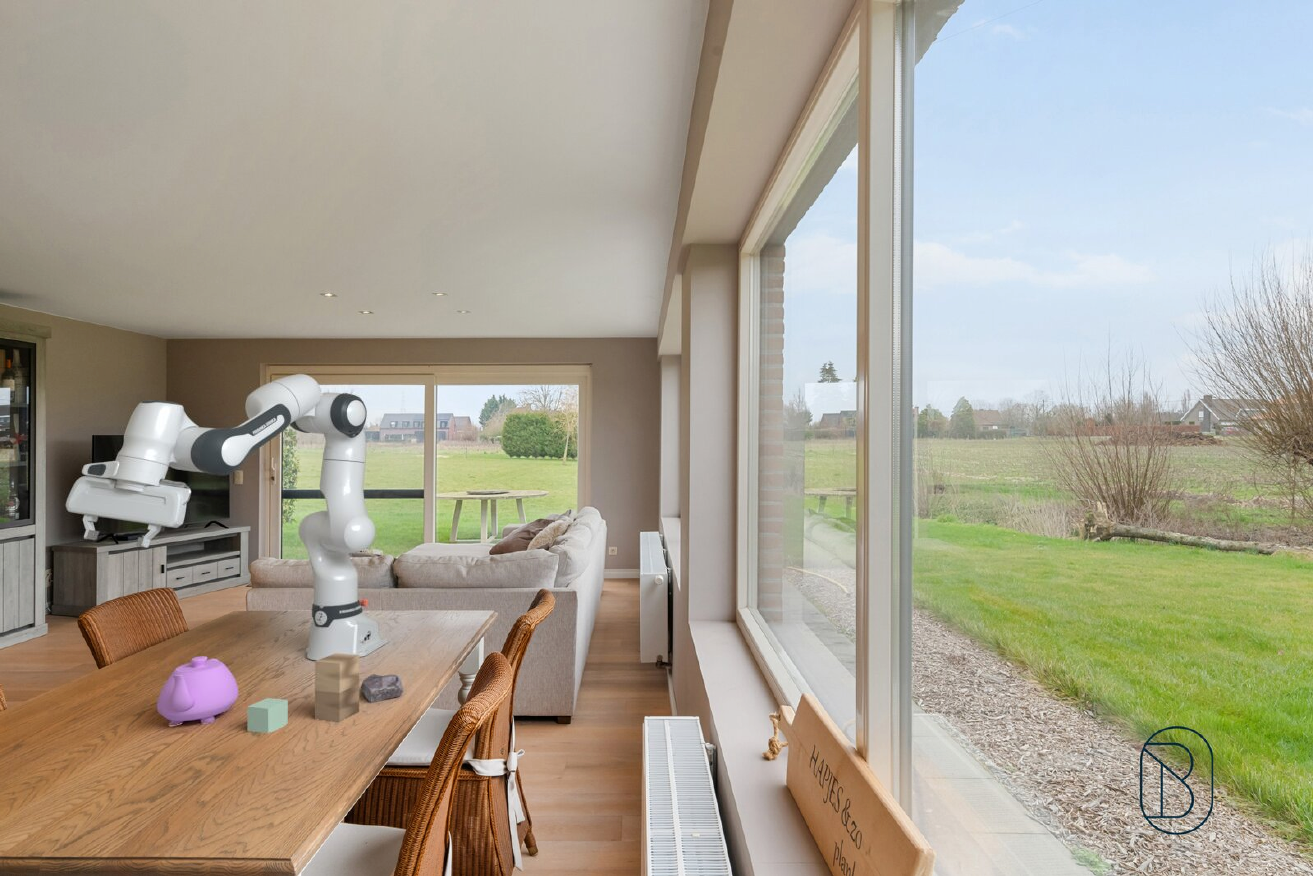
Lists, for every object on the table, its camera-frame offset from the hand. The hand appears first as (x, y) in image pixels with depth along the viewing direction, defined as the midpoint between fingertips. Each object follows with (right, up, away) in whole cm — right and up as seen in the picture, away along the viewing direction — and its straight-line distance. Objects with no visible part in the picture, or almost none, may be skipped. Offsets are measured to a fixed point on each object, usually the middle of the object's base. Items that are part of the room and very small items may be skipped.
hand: (116, 543), depth 138 cm
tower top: (+40, -31, +8) cm, 52 cm away
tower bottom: (+40, -37, +8) cm, 56 cm away
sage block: (+29, -37, +2) cm, 47 cm away
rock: (+45, -38, +20) cm, 62 cm away
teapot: (+12, -38, +6) cm, 40 cm away
